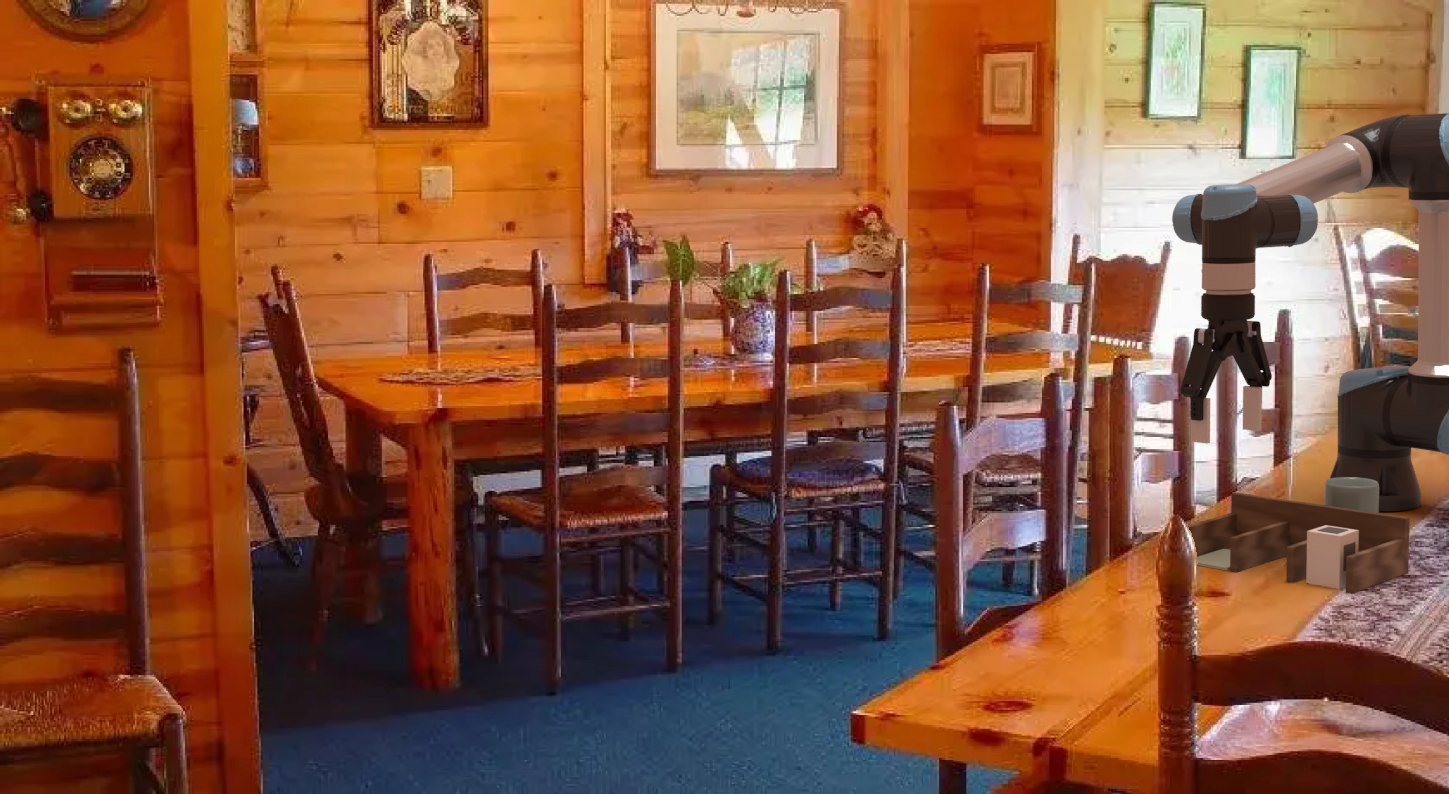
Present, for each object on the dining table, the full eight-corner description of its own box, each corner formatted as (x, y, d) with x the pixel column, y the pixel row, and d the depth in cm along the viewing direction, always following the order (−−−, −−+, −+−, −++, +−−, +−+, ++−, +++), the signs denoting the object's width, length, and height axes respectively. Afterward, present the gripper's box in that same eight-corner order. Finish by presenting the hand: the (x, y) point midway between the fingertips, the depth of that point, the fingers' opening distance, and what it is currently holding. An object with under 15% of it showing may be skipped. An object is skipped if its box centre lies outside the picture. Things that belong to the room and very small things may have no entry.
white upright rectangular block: (1324, 576, 249) (1325, 524, 248) (1358, 582, 245) (1359, 529, 244) (1306, 583, 246) (1307, 530, 245) (1339, 589, 242) (1340, 535, 241)
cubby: (1235, 543, 270) (1235, 492, 269) (1408, 572, 250) (1409, 517, 249) (1176, 561, 260) (1177, 508, 259) (1352, 593, 239) (1353, 536, 238)
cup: (1381, 552, 262) (1383, 487, 260) (1327, 552, 263) (1328, 486, 262) (1373, 541, 269) (1375, 477, 268) (1320, 540, 271) (1321, 476, 269)
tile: (1223, 551, 266) (1223, 548, 266) (1264, 558, 260) (1264, 555, 260) (1185, 563, 259) (1185, 560, 259) (1227, 570, 254) (1227, 568, 254)
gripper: (1252, 284, 265) (1250, 422, 268) (1155, 297, 249) (1155, 444, 252) (1297, 286, 259) (1295, 427, 263) (1201, 299, 243) (1200, 450, 246)
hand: (1226, 436), depth 257 cm, fingers open, 13 cm apart
